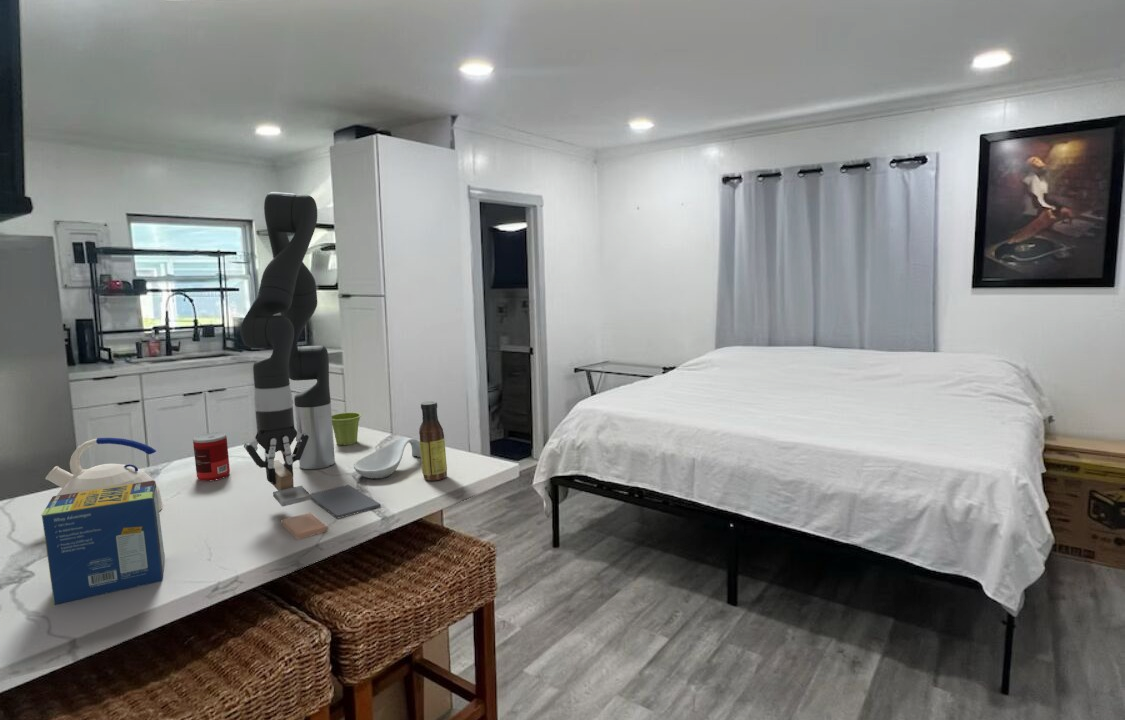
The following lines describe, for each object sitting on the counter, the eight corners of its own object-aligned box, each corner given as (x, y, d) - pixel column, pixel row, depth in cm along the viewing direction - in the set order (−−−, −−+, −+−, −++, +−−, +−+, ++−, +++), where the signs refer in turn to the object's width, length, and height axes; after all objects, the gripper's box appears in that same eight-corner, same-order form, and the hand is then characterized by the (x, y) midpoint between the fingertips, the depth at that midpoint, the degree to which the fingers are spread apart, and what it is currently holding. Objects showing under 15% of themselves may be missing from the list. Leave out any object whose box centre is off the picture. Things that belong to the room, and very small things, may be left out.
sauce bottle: (450, 474, 165) (446, 400, 162) (443, 482, 159) (439, 405, 156) (425, 473, 165) (422, 399, 163) (418, 481, 159) (414, 405, 156)
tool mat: (307, 496, 150) (307, 494, 150) (348, 486, 156) (348, 484, 156) (337, 518, 136) (337, 515, 136) (380, 506, 143) (380, 503, 143)
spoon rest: (381, 485, 158) (379, 458, 157) (344, 480, 162) (342, 453, 161) (436, 459, 179) (435, 434, 178) (402, 454, 184) (401, 431, 183)
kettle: (70, 507, 146) (59, 432, 143) (172, 495, 153) (164, 422, 150) (32, 542, 127) (20, 456, 125) (151, 526, 134) (142, 444, 132)
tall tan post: (259, 480, 143) (258, 463, 142) (286, 474, 147) (286, 458, 146) (282, 506, 131) (281, 489, 130) (311, 499, 135) (310, 482, 134)
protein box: (63, 579, 111) (51, 495, 109) (165, 558, 119) (156, 479, 117) (52, 606, 102) (39, 515, 100) (163, 581, 110) (154, 496, 108)
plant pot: (368, 442, 197) (366, 415, 195) (339, 449, 190) (337, 421, 189) (354, 437, 203) (352, 411, 202) (326, 443, 197) (323, 416, 196)
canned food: (232, 470, 171) (228, 431, 169) (227, 479, 164) (223, 438, 162) (200, 473, 169) (196, 434, 167) (193, 483, 161) (189, 441, 160)
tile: (281, 519, 134) (297, 534, 126) (310, 512, 137) (327, 526, 130) (282, 526, 134) (297, 541, 126) (310, 519, 138) (327, 533, 130)
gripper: (300, 399, 146) (306, 471, 148) (235, 408, 137) (242, 485, 139) (312, 404, 140) (317, 478, 143) (244, 414, 131) (251, 493, 134)
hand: (280, 481), depth 141 cm, fingers closed on tall tan post, 2 cm apart
